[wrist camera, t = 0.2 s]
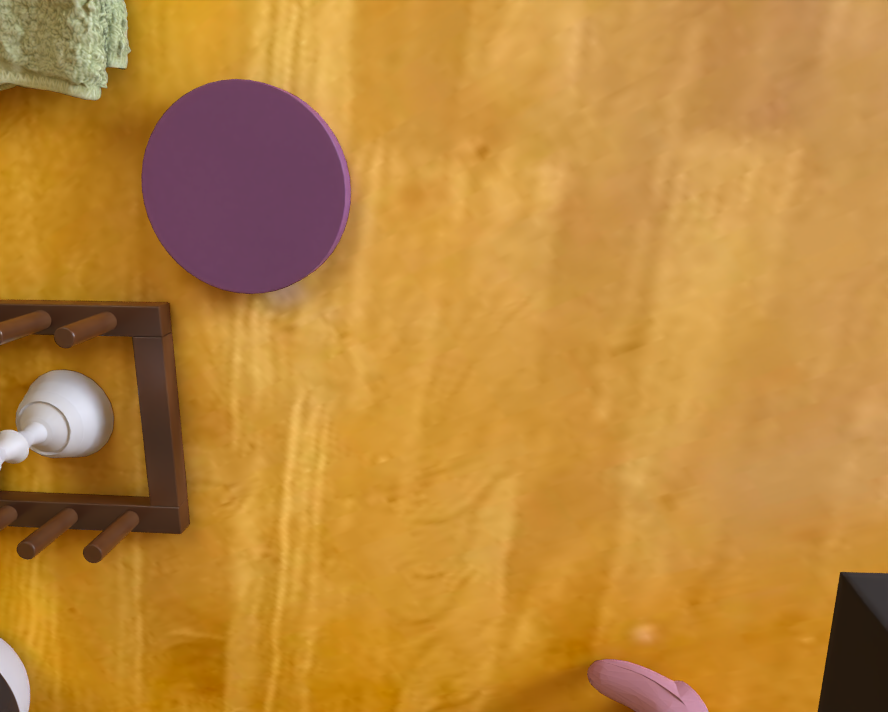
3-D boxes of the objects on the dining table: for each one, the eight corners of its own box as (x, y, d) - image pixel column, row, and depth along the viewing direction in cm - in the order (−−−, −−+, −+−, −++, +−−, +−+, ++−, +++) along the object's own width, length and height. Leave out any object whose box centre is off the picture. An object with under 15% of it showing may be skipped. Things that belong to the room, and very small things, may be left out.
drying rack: (-59, 298, 40) (-138, 317, 35) (169, 302, 39) (120, 322, 34) (-22, 515, 43) (-90, 559, 38) (190, 524, 42) (148, 571, 37)
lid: (142, 82, 36) (130, 80, 35) (347, 80, 35) (342, 78, 34) (162, 288, 38) (151, 292, 37) (354, 291, 38) (349, 295, 36)
